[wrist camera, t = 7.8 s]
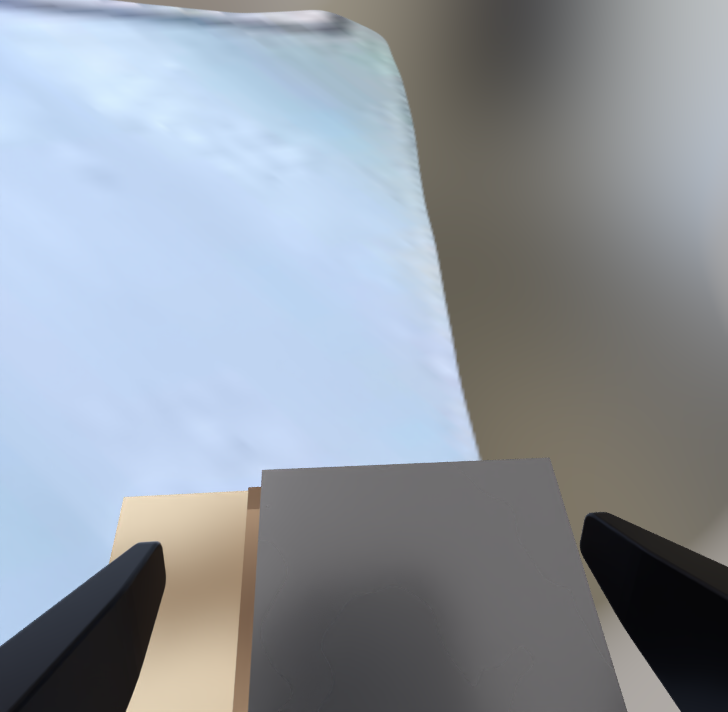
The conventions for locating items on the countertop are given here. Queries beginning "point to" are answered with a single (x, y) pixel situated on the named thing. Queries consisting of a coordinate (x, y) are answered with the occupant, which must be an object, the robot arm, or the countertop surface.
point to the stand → (197, 598)
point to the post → (424, 593)
